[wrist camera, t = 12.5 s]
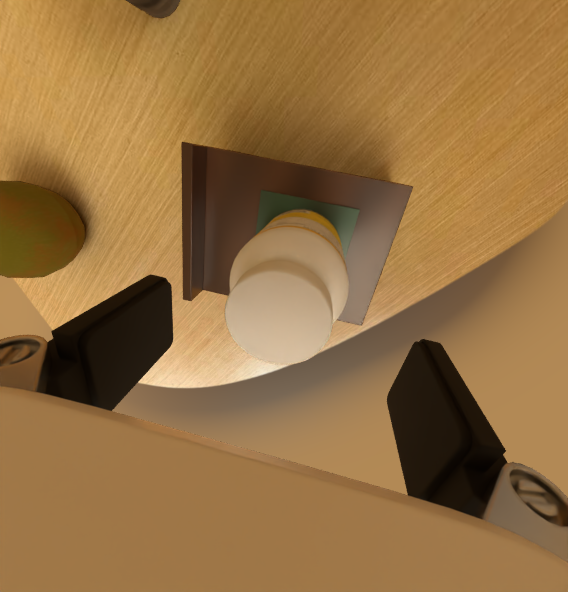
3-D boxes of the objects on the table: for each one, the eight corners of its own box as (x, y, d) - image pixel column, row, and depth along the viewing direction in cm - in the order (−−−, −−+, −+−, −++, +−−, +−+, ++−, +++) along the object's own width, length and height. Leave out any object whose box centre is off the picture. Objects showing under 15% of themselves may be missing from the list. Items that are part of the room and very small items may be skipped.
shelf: (391, 181, 25) (425, 188, 16) (354, 292, 30) (365, 341, 22) (229, 150, 26) (181, 141, 17) (222, 263, 31) (182, 299, 23)
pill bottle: (283, 294, 23) (248, 394, 13) (248, 228, 21) (173, 286, 11) (353, 267, 21) (377, 360, 11) (322, 191, 19) (316, 218, 9)
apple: (19, 226, 33) (-110, 251, 23) (33, 157, 29) (-117, 152, 19) (90, 274, 35) (-2, 316, 25) (114, 216, 30) (14, 238, 21)
